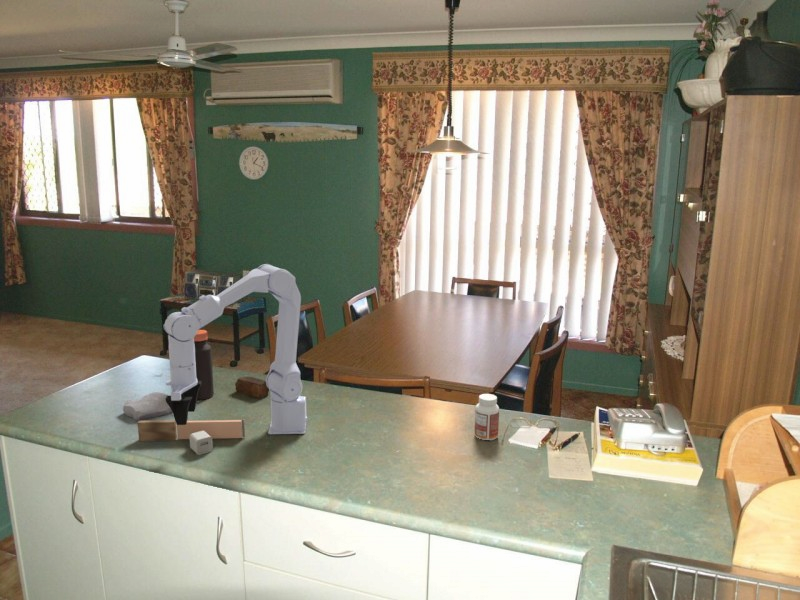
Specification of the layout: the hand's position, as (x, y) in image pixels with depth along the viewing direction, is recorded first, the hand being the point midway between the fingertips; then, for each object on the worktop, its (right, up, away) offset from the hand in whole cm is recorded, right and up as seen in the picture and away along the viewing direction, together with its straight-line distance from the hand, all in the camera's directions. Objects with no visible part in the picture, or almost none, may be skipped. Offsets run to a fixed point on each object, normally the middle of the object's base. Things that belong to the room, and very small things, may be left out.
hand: (186, 417), depth 148 cm
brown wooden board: (-10, -7, +10) cm, 16 cm away
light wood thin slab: (+3, -7, +11) cm, 13 cm away
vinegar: (-8, -1, +39) cm, 40 cm away
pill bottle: (+74, -8, +15) cm, 76 cm away
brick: (+6, -1, +41) cm, 42 cm away
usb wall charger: (+1, -9, +6) cm, 11 cm away
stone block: (-19, -4, +26) cm, 33 cm away
